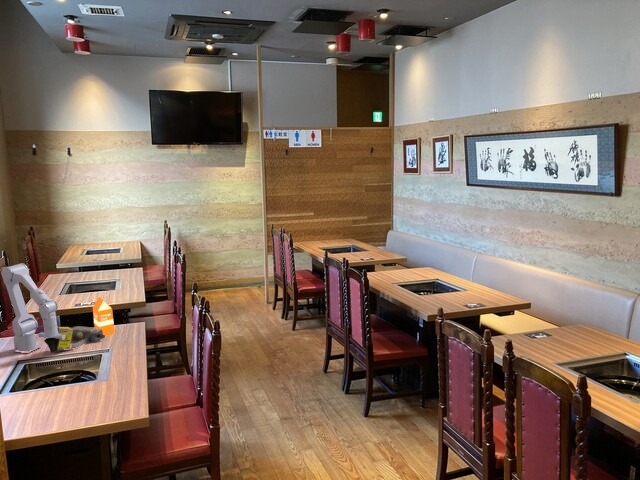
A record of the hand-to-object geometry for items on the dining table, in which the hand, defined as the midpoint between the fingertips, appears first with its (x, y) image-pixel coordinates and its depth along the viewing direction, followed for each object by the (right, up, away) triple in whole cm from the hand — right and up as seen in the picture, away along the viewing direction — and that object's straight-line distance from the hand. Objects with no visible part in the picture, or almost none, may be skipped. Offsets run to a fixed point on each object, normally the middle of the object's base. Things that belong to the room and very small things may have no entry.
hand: (53, 351), depth 244 cm
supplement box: (+1, 0, +4) cm, 4 cm away
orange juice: (+13, +4, +27) cm, 31 cm away
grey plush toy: (+6, +1, +15) cm, 16 cm away
